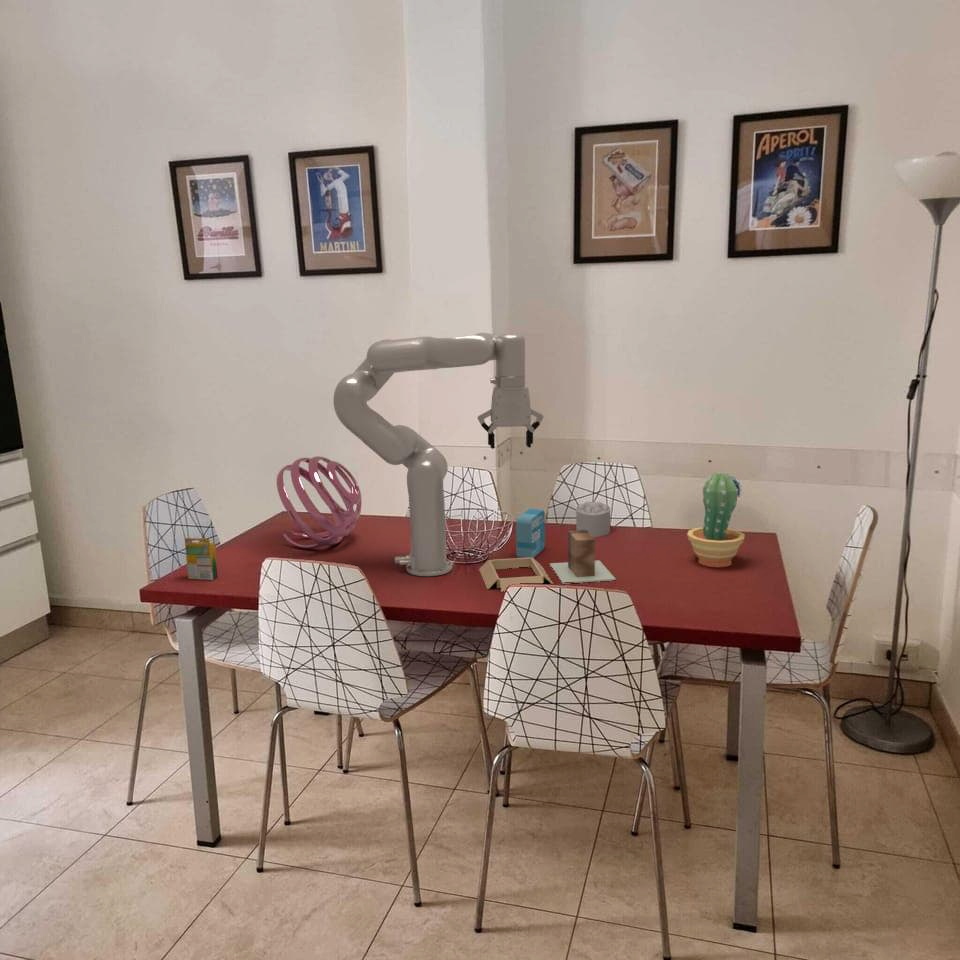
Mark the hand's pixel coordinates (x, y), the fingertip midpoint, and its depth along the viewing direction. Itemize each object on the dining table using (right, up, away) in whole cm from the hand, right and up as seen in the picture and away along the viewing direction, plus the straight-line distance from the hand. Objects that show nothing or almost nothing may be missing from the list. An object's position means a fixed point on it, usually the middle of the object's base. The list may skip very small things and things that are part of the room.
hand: (510, 447), depth 232 cm
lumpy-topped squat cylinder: (+27, -25, +43) cm, 57 cm away
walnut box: (+19, -33, +4) cm, 38 cm away
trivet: (+19, -34, +4) cm, 39 cm away
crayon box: (-83, -35, +7) cm, 90 cm away
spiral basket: (-56, -28, +36) cm, 72 cm away
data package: (+7, -30, +22) cm, 38 cm away
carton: (+1, -34, +2) cm, 35 cm away
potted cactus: (+57, -31, +11) cm, 66 cm away
